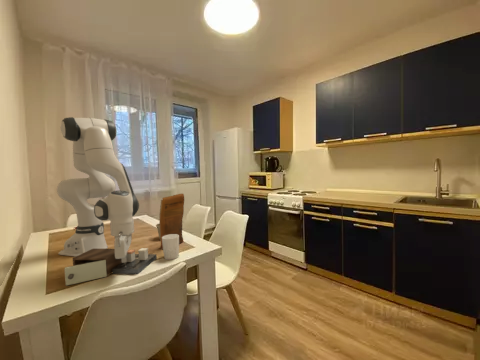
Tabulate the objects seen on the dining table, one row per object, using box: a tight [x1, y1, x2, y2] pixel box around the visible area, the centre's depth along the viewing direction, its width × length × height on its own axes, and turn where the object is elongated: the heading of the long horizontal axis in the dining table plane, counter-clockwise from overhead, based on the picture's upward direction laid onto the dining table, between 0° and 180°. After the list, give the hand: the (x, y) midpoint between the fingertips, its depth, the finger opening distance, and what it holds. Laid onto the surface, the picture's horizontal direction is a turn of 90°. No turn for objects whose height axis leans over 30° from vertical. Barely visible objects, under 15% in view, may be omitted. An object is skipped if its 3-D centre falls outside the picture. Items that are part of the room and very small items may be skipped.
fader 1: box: [126, 249, 136, 262], centre depth 100 cm, size 3×3×4 cm
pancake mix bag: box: [158, 192, 185, 250], centre depth 125 cm, size 7×19×28 cm, turn 149°
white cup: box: [162, 234, 180, 260], centre depth 108 cm, size 8×8×10 cm
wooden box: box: [72, 248, 122, 276], centre depth 97 cm, size 15×11×7 cm
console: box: [111, 253, 158, 275], centre depth 100 cm, size 11×16×2 cm
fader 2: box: [137, 247, 149, 260], centre depth 101 cm, size 3×3×4 cm
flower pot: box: [155, 223, 160, 240], centre depth 139 cm, size 9×9×9 cm
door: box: [64, 260, 108, 286], centre depth 86 cm, size 13×2×6 cm, turn 118°
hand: (124, 261), depth 96 cm, fingers closed
